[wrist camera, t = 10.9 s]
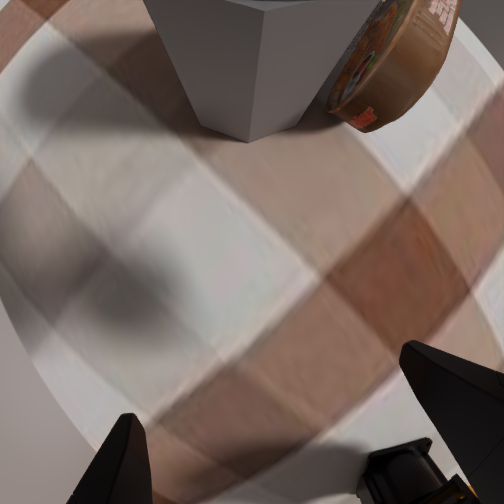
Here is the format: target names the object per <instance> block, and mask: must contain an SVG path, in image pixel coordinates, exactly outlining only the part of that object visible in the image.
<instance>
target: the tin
mask: <svg viewBox="0 0 504 504" xmlns="http://www.w3.org/2000/svg"><path fill="white" fill-rule="evenodd" d="M461 3H462V0H386V1H385V2H384V3H383V5H382V6H381V8H380V9H379V11H378V13H377V14H376V16H375V17H374V19H373V20H372V22H371V24H370V25H369V27H368V29H367V30H366V32H365V34H364V35H363V37H362V39H361V41H360V42H359V44H358V46H357V47H356V49H355V51H354V52H353V54H352V56H351V57H350V59H349V61H348V62H347V64H346V66H345V68H344V69H343V71H342V73H341V75H340V76H339V78H338V80H337V82H336V83H335V85H334V87H333V89H332V91H331V94H330V96H329V98H328V101H327V104H326V111H327V112H328V113H333V114H335V115H336V116H338V117H339V118H341V119H342V120H344V121H345V122H347V123H348V124H350V125H351V126H352V127H354V128H356V129H357V130H359V131H361V132H363V133H368V132H372V131H375V130H377V129H379V128H381V127H383V126H384V125H386V124H388V123H391V122H393V121H395V120H397V119H399V118H400V117H401V116H403V115H404V114H405V113H406V112H407V111H408V110H409V109H411V108H412V107H413V106H414V104H415V103H416V102H417V101H418V100H419V99H420V98H421V97H422V96H423V95H424V93H425V92H426V91H427V89H428V88H429V87H430V85H431V84H432V83H433V81H434V79H435V78H436V76H437V75H438V73H439V71H440V69H441V67H442V65H443V64H444V61H445V59H446V56H447V53H448V50H449V47H450V44H451V41H452V38H453V34H454V30H455V27H456V24H457V20H458V16H459V11H460V7H461Z"/></svg>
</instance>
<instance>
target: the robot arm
mask: <svg viewBox="0 0 504 504" xmlns="http://www.w3.org/2000/svg"><path fill="white" fill-rule="evenodd" d="M399 365H400V367H401V369H402V371H403V373H404V375H405V377H406V379H407V381H408V383H409V385H410V386H411V388H412V390H413V392H414V394H415V396H416V398H417V400H418V401H419V403H420V404H421V406H422V407H423V409H424V410H425V412H426V413H427V415H428V417H429V418H430V420H431V421H432V423H433V424H434V426H435V427H436V429H437V431H438V432H439V434H440V435H441V437H442V438H443V440H444V442H445V443H446V445H447V446H448V448H449V450H450V451H451V453H452V455H453V456H454V458H455V460H456V461H457V463H458V464H459V466H460V468H461V469H462V471H463V473H464V475H465V476H466V478H467V480H468V482H469V483H470V485H471V487H472V488H473V490H474V492H475V494H476V495H477V496H476V495H475V494H474V493H473V492H472V490H471V489H470V488H469V487H468V486H467V485H466V483H465V482H464V481H463V480H462V479H461V478H460V477H459V475H458V474H457V473H456V474H455V475H454V476H453V477H451V479H450V480H449V481H448V480H447V479H446V477H445V476H444V475H443V473H442V472H441V470H440V469H439V468H438V466H437V465H436V464H435V462H434V461H433V460H432V458H431V457H430V456H429V454H428V452H429V450H430V447H431V445H432V440H431V439H430V438H427V439H424V440H420V441H417V442H414V443H411V444H407V445H404V446H400V447H396V448H393V449H389V450H385V451H381V452H376V453H373V454H371V455H370V456H369V457H368V459H367V463H366V466H365V469H364V472H363V473H362V475H361V477H360V480H359V483H358V486H357V489H356V491H357V492H356V496H357V498H360V500H361V503H362V504H504V374H503V373H501V372H498V371H495V370H492V369H490V368H487V367H484V366H482V365H479V364H476V363H473V362H471V361H468V360H465V359H463V358H460V357H457V356H455V355H452V354H450V353H447V352H444V351H442V350H439V349H436V348H434V347H431V346H429V345H426V344H423V343H421V342H418V341H416V340H411V341H409V342H406V343H404V344H403V346H402V350H401V354H400V358H399ZM461 497H462V498H461ZM66 504H153V501H152V481H151V470H150V463H149V457H148V450H147V443H146V435H145V430H144V428H143V426H142V424H141V423H140V421H139V420H138V418H137V416H136V415H135V414H134V413H124V414H121V415H120V417H119V418H118V420H117V422H116V423H115V425H114V426H113V428H112V429H111V431H110V433H109V434H108V436H107V438H106V439H105V441H104V442H103V444H102V446H101V447H100V449H99V450H98V452H97V454H96V455H95V457H94V459H93V460H92V462H91V463H90V465H89V467H88V469H87V470H86V472H85V474H84V475H83V477H82V478H81V480H80V482H79V483H78V485H77V487H76V489H75V490H74V492H73V495H71V496H70V498H69V500H68V501H67V503H66Z"/></svg>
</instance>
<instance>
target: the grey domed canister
mask: <svg viewBox="0 0 504 504" xmlns="http://www.w3.org/2000/svg"><path fill="white" fill-rule="evenodd" d="M380 1H381V0H143V2H144V4H145V6H146V8H147V10H148V13H149V15H150V17H151V19H152V21H153V23H154V25H155V28H156V30H157V32H158V34H159V36H160V38H161V40H162V43H163V45H164V47H165V49H166V51H167V53H168V56H169V58H170V60H171V62H172V64H173V66H174V69H175V71H176V73H177V75H178V77H179V79H180V82H181V84H182V86H183V88H184V90H185V92H186V95H187V97H188V99H189V101H190V103H191V105H192V108H193V110H194V112H195V114H196V116H197V118H198V121H199V123H200V125H201V126H204V127H206V128H209V129H212V130H215V131H218V132H220V133H223V134H226V135H228V136H231V137H234V138H236V139H239V140H242V141H244V142H247V143H250V142H253V141H255V140H258V139H261V138H263V137H266V136H269V135H271V134H274V133H277V132H280V131H282V130H285V129H288V128H291V127H294V126H296V125H297V123H298V122H299V120H300V119H301V117H302V115H303V114H304V112H305V111H306V109H307V108H308V106H309V105H310V103H311V102H312V100H313V99H314V97H315V96H316V94H317V93H318V91H319V90H320V88H321V86H322V85H323V83H324V82H325V80H326V79H327V77H328V76H329V74H330V73H331V71H332V70H333V69H334V67H335V66H336V64H337V63H338V61H339V60H340V58H341V57H342V55H343V54H344V52H345V51H346V49H347V48H348V46H349V45H350V43H351V42H352V41H353V39H354V38H355V36H356V35H357V33H358V32H359V30H360V29H361V28H362V26H363V25H364V23H365V22H366V20H367V19H368V18H369V16H370V15H371V13H372V12H373V10H374V9H375V8H376V6H377V5H378V3H379V2H380Z"/></svg>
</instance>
